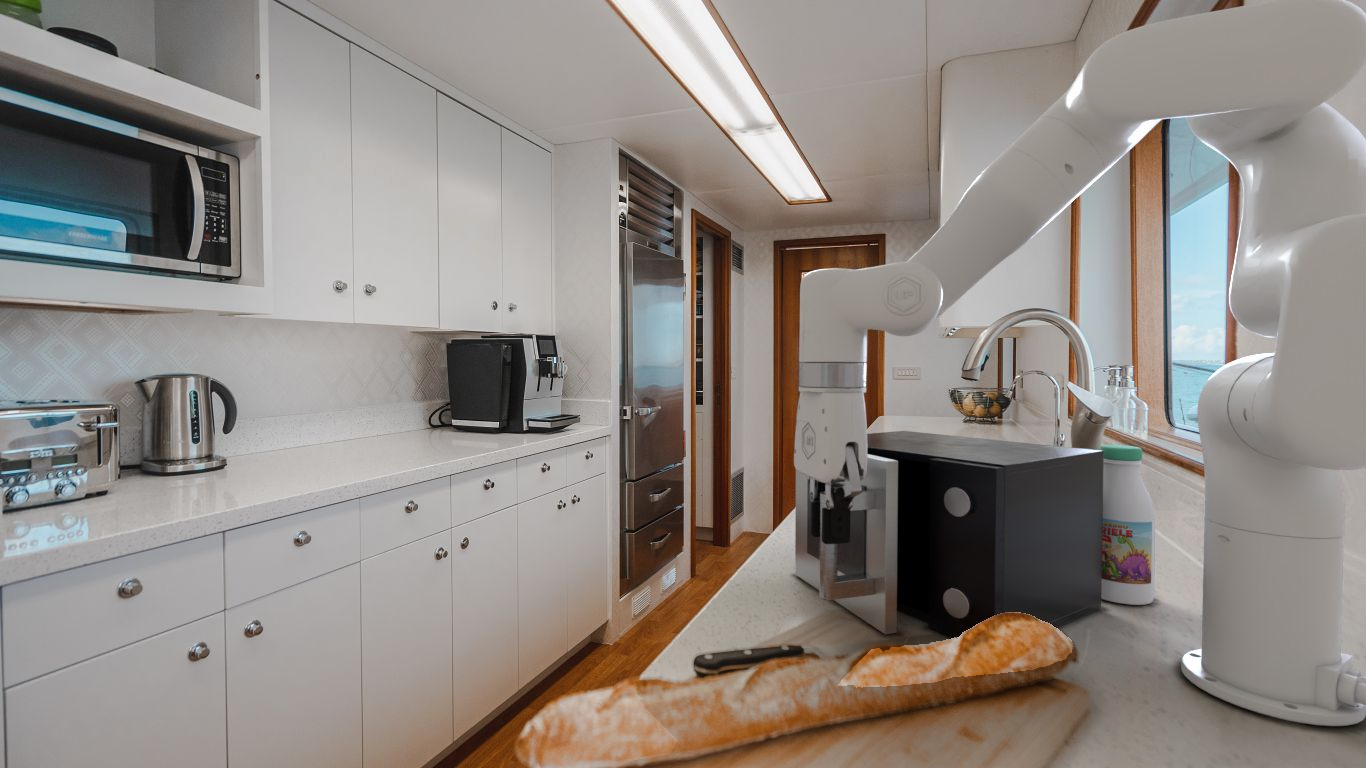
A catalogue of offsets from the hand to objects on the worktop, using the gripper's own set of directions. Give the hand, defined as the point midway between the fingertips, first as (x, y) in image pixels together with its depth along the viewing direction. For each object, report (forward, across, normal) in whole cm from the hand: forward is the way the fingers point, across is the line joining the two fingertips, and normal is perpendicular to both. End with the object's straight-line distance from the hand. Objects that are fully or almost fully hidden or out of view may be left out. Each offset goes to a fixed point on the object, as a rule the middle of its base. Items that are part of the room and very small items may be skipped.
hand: (829, 538), depth 72 cm
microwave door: (+11, -8, +2) cm, 13 cm away
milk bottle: (+11, -2, +43) cm, 44 cm away
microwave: (+11, -9, +20) cm, 24 cm away
